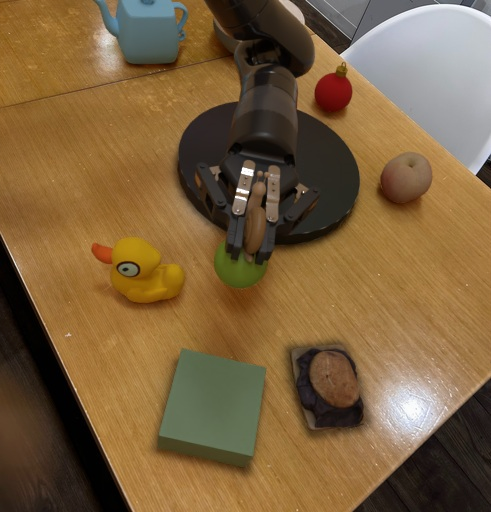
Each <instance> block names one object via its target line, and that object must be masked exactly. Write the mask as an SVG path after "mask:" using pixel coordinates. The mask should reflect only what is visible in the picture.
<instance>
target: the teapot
mask: <svg viewBox="0 0 491 512" xmlns="http://www.w3.org/2000/svg"><path fill="white" fill-rule="evenodd" d="M92 1H93V2H94V3H95V4H96V5H97V7H98V9H99V11H100V15H101V20H102V22H103V25H104V27H105V29H106V31H107V32H108V33H109V34H110V35H111V36H112V37H114V38H116V42H117V45H118V48H119V49H120V51H121V53H122V56H123V58H124V60H126V61H127V62H128V63H129V64H132V65H161V64H172V63H175V61H176V59H177V58H178V55H179V50H180V47H179V46H180V42H184V41H185V40H186V37H187V33H186V31H185V30H184V29H183V28H184V27H185V25H186V23H187V22H188V18H189V11H188V8H187V6H185V5H184V4H183V3H182V2H179V1H172V0H117V4H116V11H115V17H114V16H113V15H111V12H110V10H109V7H108V4H107V1H105V0H92ZM175 10H181V11H182V12H183V13H182V16H181V18H180V20H179V22H178V21H177V16H176V11H175ZM180 34H181V35H180Z"/></svg>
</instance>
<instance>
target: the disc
mask: <svg viewBox="0 0 491 512" xmlns="http://www.w3.org/2000/svg"><path fill="white" fill-rule="evenodd" d="M238 101H239V100H235V101H229V102H225V103H222V104H221V103H220V104H218V105H215V106H213V107H210V108H208V109H207V110H205V111H203V112H201V113H199V114H198V115H197V116H196V117H194V119H193V120H191V121H190V122H189V123H188V124H187V126H186V128H185V129H184V131H183V132H182V135H181V137H180V140H179V143H178V152H177V170H176V171H177V176H178V180H179V185H180V186H181V188H182V191H183V193H184V195H185V196H186V199H187V200H188V201H189V202H190V204H191V205H192V206H193V207H194V208H195V210H196V211H197V212H198V213H199V214H201V216H203V217H204V218H205V219H206V220H207V221H208V222H210V223H211V224H212V225H214V226H215V227H218V228H219V229H221V230H222V231H224V232H226V233H227V230H228V227H227V225H226V224H225V223H224V222H222V221H221V222H214V221H213V220H212V219H211V217H210V215H209V213H208V211H207V209H206V207H205V205H204V203H203V201H202V199H201V197H200V195H199V193H198V191H197V189H196V187H195V185H194V180H195V173H196V166H197V164H198V163H200V162H203V163H206V164H207V165H208V166H209V167H214V166H219V163H220V161H221V160H222V159H223V158H225V156H226V152H227V147H228V141H229V136H230V128H231V126H232V121H233V116H234V113H235V110H236V108H237V106H238ZM297 118H298V134H297V150H296V166H295V170H296V173H297V174H298V176H299V179H300V181H299V183H300V184H302V185H304V186H305V187H307V188H308V189H310V188H311V187H313V186H316V187H318V188H320V190H321V194H320V196H319V199H318V201H317V203H316V205H315V208H314V210H313V211H312V212H311V213H310V214H309V215H308V216H307V217H306V218H305V219H304V220H303V221H302V222H301V223H300V224H299V225H298V226H297V227H296V228H295V229H294V231H293V232H292V233H291V234H290V235H289V236H282V235H281V234H280V233H278V234H275V243H274V246H292V245H302V244H306V243H309V242H313V241H316V240H319V239H321V238H323V237H326V236H327V235H329V234H331V233H333V231H334V230H336V229H337V228H339V226H340V225H342V223H344V221H345V219H346V218H347V216H348V215H349V213H350V211H351V209H352V207H353V206H354V205H355V203H356V201H357V198H358V195H359V192H360V189H361V174H360V170H359V165H358V162H357V159H356V158H355V155H354V154H353V152H352V150H351V149H350V147H349V146H348V145H347V143H346V142H345V141H344V139H343V138H342V137H341V136H340V135H339V134H338V133H337V132H335V131H334V129H332V128H331V127H330V126H329V125H328V124H326V123H325V122H323V121H322V120H320V119H318V118H317V117H315V116H313V115H311V114H309V113H307V112H305V111H303V110H300V109H298V108H297ZM218 185H219V187H220V189H221V191H222V193H223V194H224V196H225V198H226V200H227V203H228V204H230V205H232V206H233V203H234V198H233V197H232V196H231V195H230V193H229V192H228V190H227V189H226V187H225V186H224V184H223V183H222V181H221V180H220V179H218ZM294 200H295V195H294V194H292V195H291V196H290V197H288V198H287V199H286V200H284V201H283V202H282V203H280V204H279V205H278V215H282V214H285V212H286V211H287V210H288V209H289V208H290V207H291V206H292V205H293V204H294ZM246 208H247V206H246ZM246 208H245V212H244V216H243V217H244V218H245V213H246Z"/></svg>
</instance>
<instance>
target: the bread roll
mask: <svg viewBox="0 0 491 512" xmlns="http://www.w3.org/2000/svg"><path fill="white" fill-rule="evenodd" d="M290 363H291V367H292V368H291V369H292V375H293V381H294V382H295V383H294V384H295V389H296V393H297V396H298V400H299V402H300V403H299V406H300V408H301V410H302V414H303V416H304V420H305V423H306V425H307V427H308V430H309V431H311V432H316V433H318V432H324V431H334V430H336V429H340V428H341V429H347V428H350V427H351V428H352V427H356V426H361V425H364V424H365V423H366V415H365V411H364V408H365V405H364V402H363V398H362V397H361V393H360V392H361V391H360V389H359V381H358V372H357V366H356V363H355V361H354V359H352V357H351V356H350V355H349V354H348V352H347V351H346V349H345V346H343V345H342V344H340V343H336V344H335V343H334V344H326V345H316V346H314V345H313V346H306V347H304V346H303V347H295V348H294V347H293V348H291V350H290Z"/></svg>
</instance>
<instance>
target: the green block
mask: <svg viewBox="0 0 491 512" xmlns="http://www.w3.org/2000/svg"><path fill="white" fill-rule="evenodd" d="M179 352H180V353H179V356H178V360H177V364H176V367H175V370H174V371H175V372H174V375H173V379H172V382H171V387H170V390H169V394H168V397H167V402H166V406H165V409H164V412H163V416H162V420H161V424H160V428H159V431H158V435H157V445H156V448H157V450H158V449H159V450H163V451H168V452H172V453H176V454H181V455H185V456H190V457H194V458H199V459H203V460H209V461H212V462H217V463H221V464H227V465H231V466H234V467H235V466H236V467H239V468H244V469H246V467H247V466H248V464H249V463H250V462H251V460H253V459H252V458H254V455H255V446H256V439H257V435H258V427H259V421H260V413H261V407H262V401H263V393H264V387H265V381H266V373H267V367H266V366H262V365H257V364H253V363H248V362H244V361H240V360H235V359H231V358H227V357H223V356H219V355H214V354H209V353H205V352H202V351H201V352H200V351H197V350H191V349H188V348H183V347H181V349H180V351H179Z"/></svg>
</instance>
